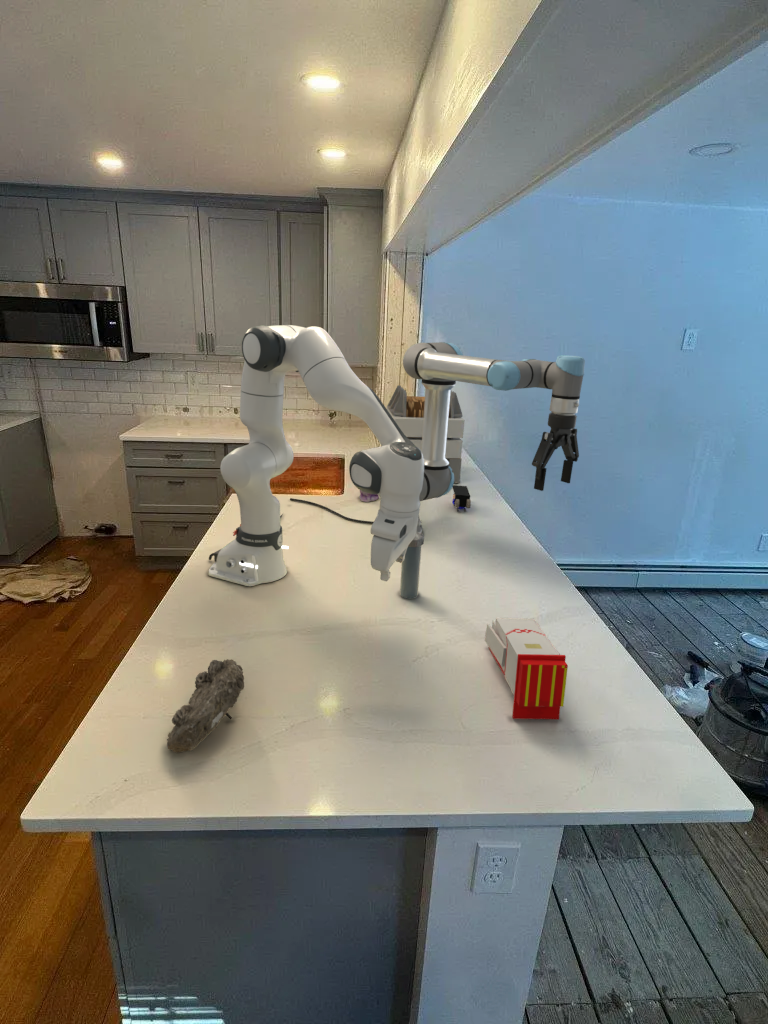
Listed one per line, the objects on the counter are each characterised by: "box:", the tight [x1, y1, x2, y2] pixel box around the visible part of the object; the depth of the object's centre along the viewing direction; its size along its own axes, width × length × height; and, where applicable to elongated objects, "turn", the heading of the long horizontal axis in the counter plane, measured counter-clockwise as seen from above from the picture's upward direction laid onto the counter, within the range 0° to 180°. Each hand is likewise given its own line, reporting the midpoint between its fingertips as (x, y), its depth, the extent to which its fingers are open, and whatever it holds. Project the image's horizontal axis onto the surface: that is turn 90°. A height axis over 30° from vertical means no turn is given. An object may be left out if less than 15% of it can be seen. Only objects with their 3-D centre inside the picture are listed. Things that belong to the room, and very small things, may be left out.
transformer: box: [386, 384, 465, 484], centre depth 268 cm, size 34×33×41 cm
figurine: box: [358, 490, 380, 503], centre depth 232 cm, size 9×10×15 cm
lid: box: [408, 532, 425, 547], centre depth 152 cm, size 6×6×2 cm
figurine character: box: [451, 484, 472, 513], centre depth 228 cm, size 7×8×15 cm
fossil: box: [166, 658, 245, 754], centre depth 106 cm, size 22×10×15 cm
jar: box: [399, 546, 422, 600], centre depth 155 cm, size 5×5×17 cm
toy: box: [484, 617, 569, 720], centre depth 122 cm, size 12×13×30 cm
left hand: (392, 569), depth 131 cm, fingers open, 8 cm apart
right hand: (552, 485), depth 166 cm, fingers open, 13 cm apart
